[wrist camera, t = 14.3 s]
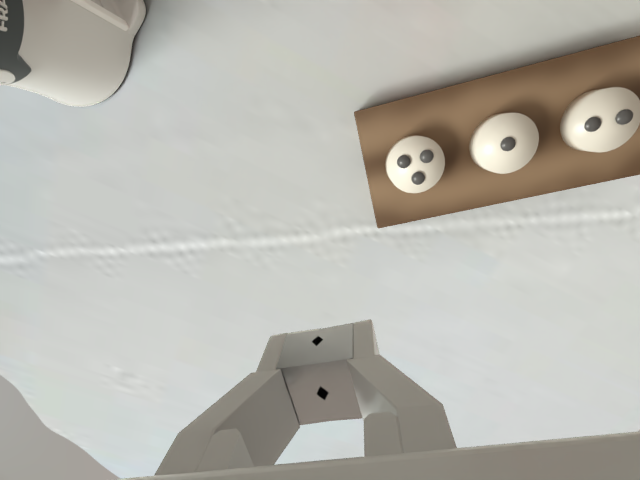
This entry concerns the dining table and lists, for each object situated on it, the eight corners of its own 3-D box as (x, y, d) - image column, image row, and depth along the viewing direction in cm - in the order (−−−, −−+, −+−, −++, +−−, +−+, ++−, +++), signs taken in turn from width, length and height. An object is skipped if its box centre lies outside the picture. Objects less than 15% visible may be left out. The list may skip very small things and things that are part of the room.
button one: (466, 121, 31) (474, 121, 29) (525, 107, 30) (538, 105, 28) (472, 176, 32) (480, 179, 30) (528, 163, 31) (541, 166, 29)
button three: (380, 142, 32) (382, 144, 30) (435, 129, 31) (441, 129, 29) (390, 194, 34) (392, 199, 32) (442, 182, 33) (448, 186, 31)
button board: (354, 113, 35) (354, 111, 32) (619, 42, 30) (647, 33, 28) (375, 220, 38) (377, 228, 35) (616, 170, 34) (640, 174, 31)
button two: (559, 98, 29) (575, 96, 27) (624, 82, 29) (645, 79, 27) (560, 156, 31) (575, 158, 29) (622, 143, 30) (642, 144, 28)
